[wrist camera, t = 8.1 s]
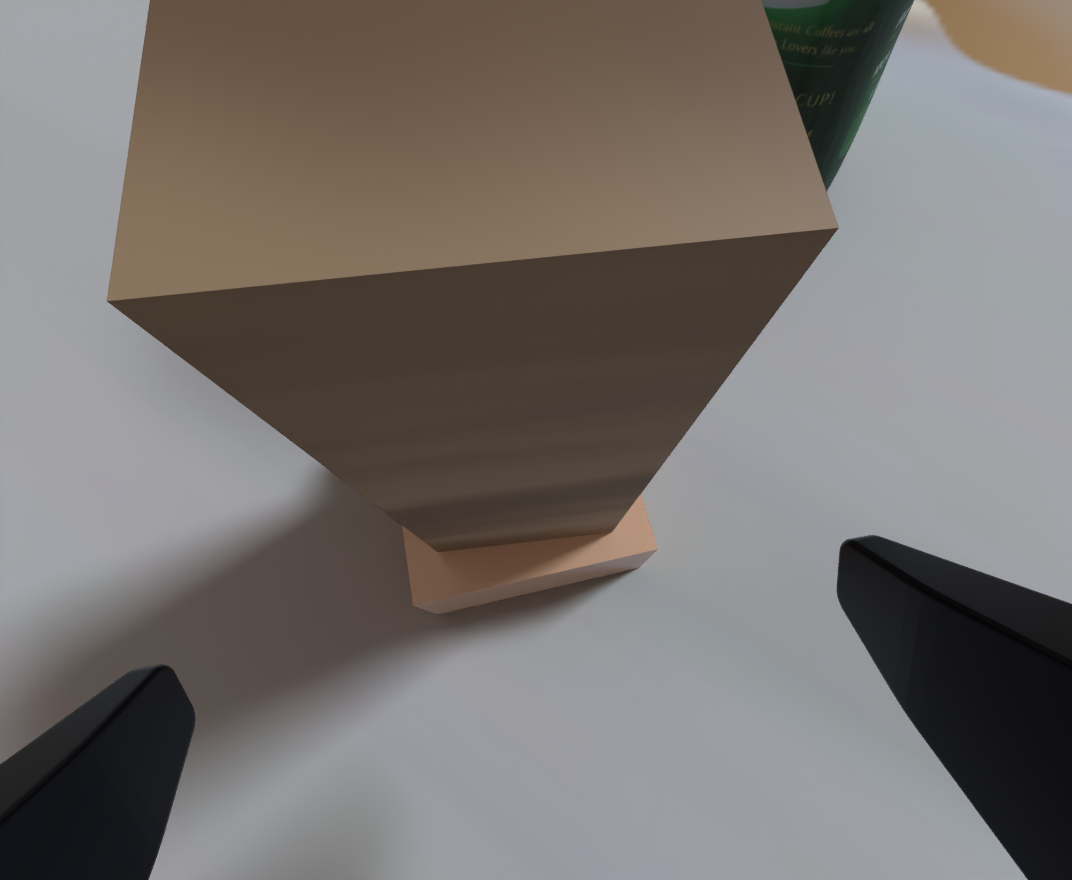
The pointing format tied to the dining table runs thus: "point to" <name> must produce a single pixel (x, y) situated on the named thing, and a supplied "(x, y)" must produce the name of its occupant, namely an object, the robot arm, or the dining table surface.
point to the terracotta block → (523, 564)
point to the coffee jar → (834, 65)
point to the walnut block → (468, 236)
